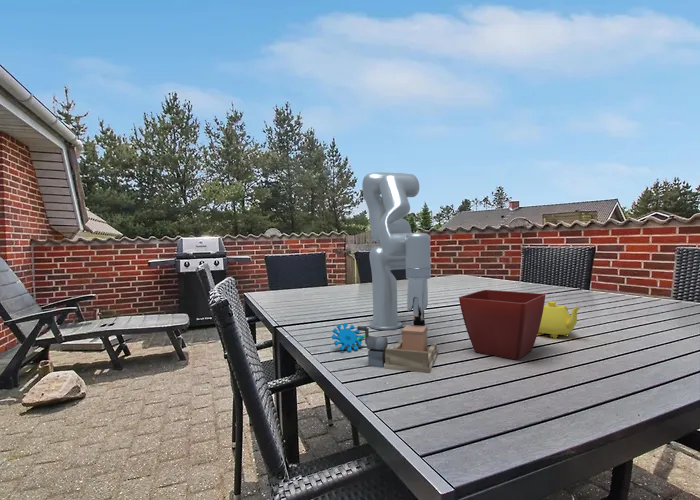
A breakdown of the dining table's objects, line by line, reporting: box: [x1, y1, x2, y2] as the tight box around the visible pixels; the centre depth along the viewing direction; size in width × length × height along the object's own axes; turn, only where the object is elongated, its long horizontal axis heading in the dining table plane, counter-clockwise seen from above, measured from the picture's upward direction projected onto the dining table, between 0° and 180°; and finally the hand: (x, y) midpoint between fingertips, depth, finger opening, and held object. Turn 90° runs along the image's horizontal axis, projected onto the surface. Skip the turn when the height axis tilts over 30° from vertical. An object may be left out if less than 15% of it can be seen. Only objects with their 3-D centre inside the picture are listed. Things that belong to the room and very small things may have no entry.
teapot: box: [538, 301, 582, 339], centre depth 130 cm, size 20×15×12 cm
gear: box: [331, 322, 365, 353], centre depth 120 cm, size 11×6×10 cm
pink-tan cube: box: [401, 324, 429, 351], centre depth 110 cm, size 7×6×7 cm
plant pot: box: [458, 289, 546, 360], centre depth 113 cm, size 19×19×17 cm
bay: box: [356, 325, 439, 373], centre depth 108 cm, size 17×20×10 cm
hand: (419, 332), depth 116 cm, fingers closed
